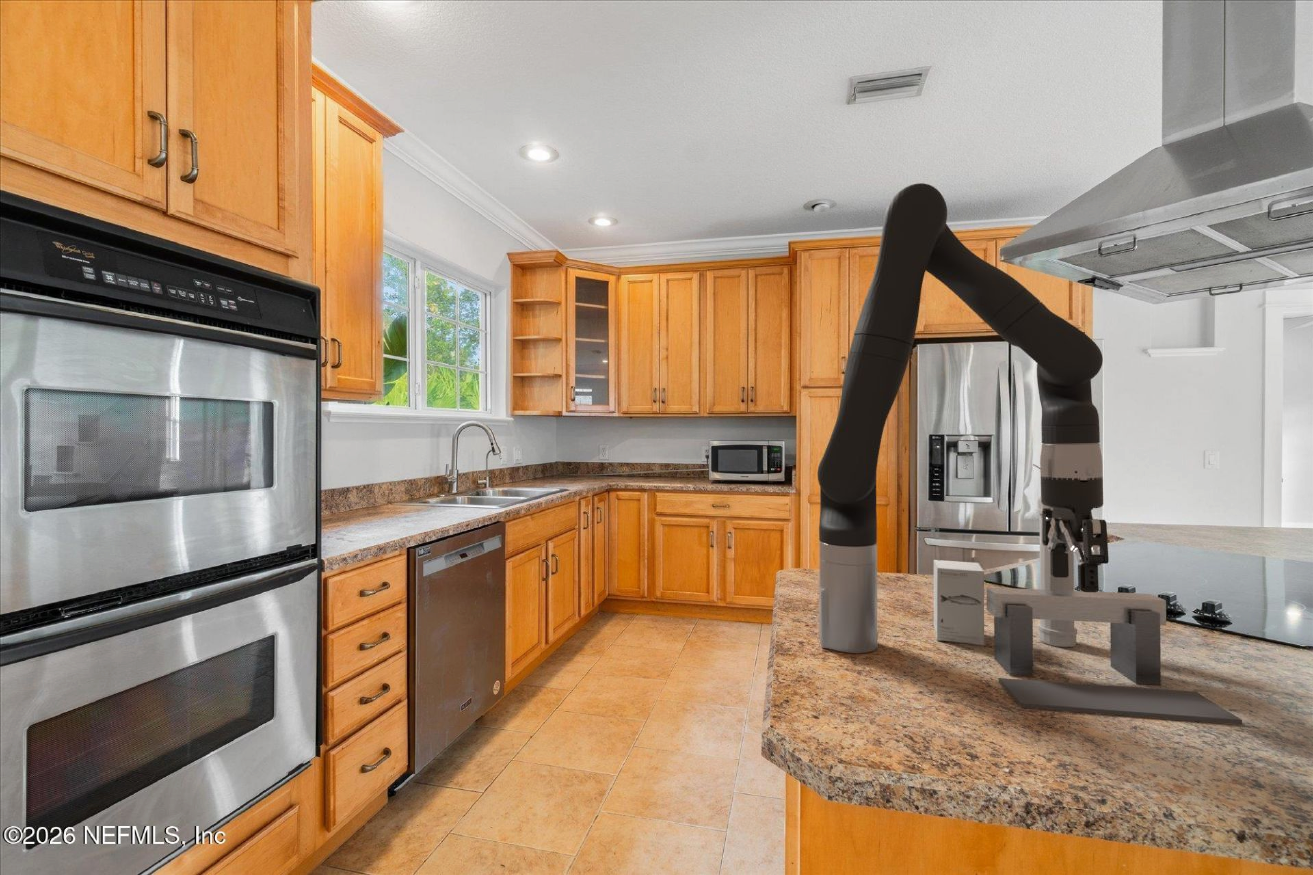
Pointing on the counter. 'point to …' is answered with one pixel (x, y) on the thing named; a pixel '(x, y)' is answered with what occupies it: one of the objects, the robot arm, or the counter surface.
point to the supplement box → (959, 602)
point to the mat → (1117, 700)
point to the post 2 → (1137, 648)
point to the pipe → (1055, 630)
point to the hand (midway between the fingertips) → (1073, 583)
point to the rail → (1075, 604)
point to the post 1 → (1015, 640)
